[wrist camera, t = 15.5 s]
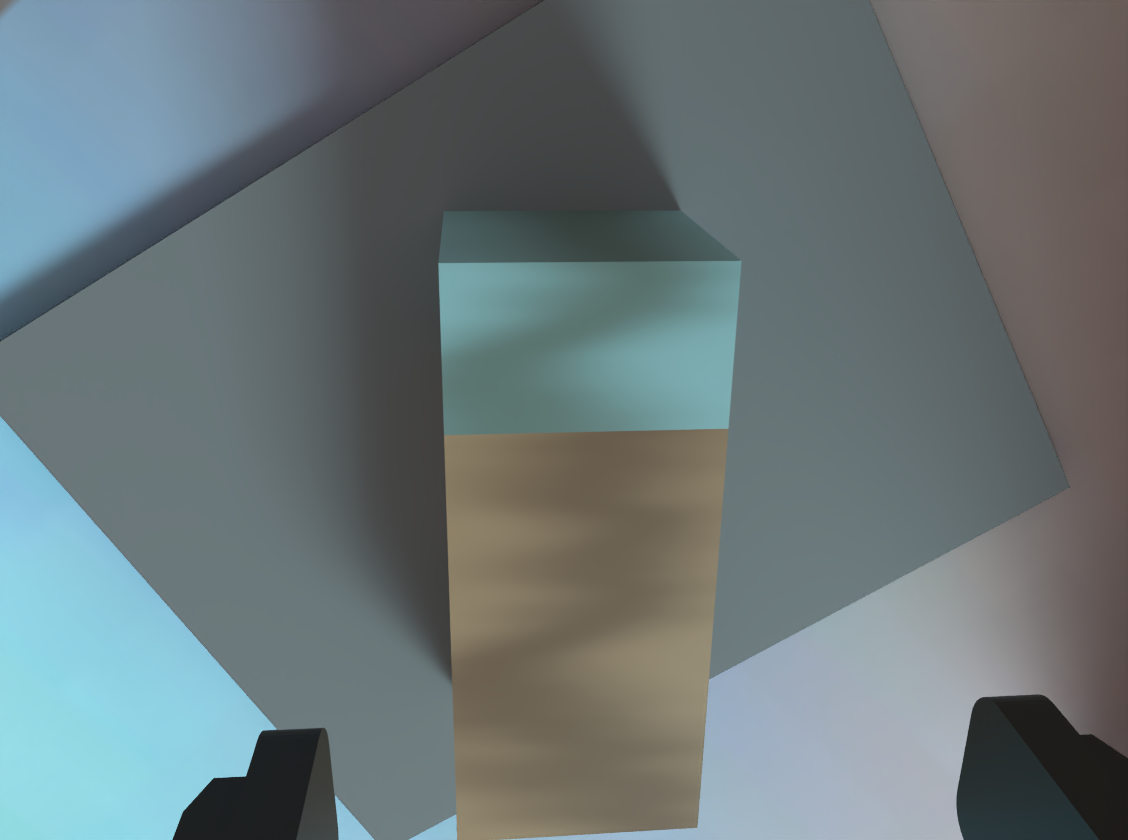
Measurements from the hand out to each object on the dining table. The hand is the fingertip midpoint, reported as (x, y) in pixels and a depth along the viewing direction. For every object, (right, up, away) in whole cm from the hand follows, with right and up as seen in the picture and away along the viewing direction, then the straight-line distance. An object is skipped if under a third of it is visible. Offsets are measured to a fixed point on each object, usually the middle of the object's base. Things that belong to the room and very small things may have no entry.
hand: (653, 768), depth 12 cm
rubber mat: (-1, +4, +11) cm, 12 cm away
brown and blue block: (-1, -3, +11) cm, 11 cm away
